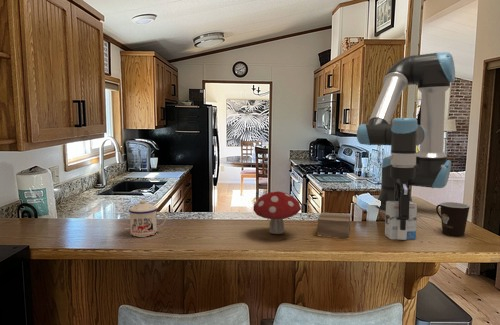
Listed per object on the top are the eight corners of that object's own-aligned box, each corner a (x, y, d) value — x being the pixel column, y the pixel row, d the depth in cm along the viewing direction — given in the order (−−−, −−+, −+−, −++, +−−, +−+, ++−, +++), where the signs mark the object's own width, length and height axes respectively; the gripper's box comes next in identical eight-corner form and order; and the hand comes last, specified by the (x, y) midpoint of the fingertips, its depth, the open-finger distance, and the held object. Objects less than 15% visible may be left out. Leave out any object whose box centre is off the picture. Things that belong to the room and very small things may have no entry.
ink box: (409, 234, 122) (411, 200, 120) (416, 239, 117) (417, 203, 115) (384, 235, 122) (385, 200, 120) (389, 239, 117) (391, 203, 115)
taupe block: (321, 228, 130) (321, 212, 129) (350, 231, 127) (350, 214, 126) (317, 236, 121) (317, 219, 120) (348, 239, 118) (348, 221, 117)
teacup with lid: (128, 238, 118) (126, 203, 117) (131, 231, 127) (130, 198, 126) (166, 236, 121) (165, 202, 120) (166, 228, 130) (165, 196, 128)
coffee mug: (472, 238, 117) (474, 208, 116) (443, 237, 119) (444, 207, 118) (459, 228, 129) (460, 200, 128) (432, 227, 130) (434, 199, 129)
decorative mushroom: (310, 237, 120) (310, 192, 118) (270, 245, 111) (270, 197, 110) (281, 225, 133) (281, 185, 132) (244, 232, 125) (243, 189, 123)
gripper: (386, 162, 127) (384, 227, 129) (395, 169, 108) (392, 244, 111) (409, 163, 125) (406, 228, 127) (422, 170, 107) (418, 246, 109)
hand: (399, 236), depth 119 cm, fingers closed on ink box, 6 cm apart
